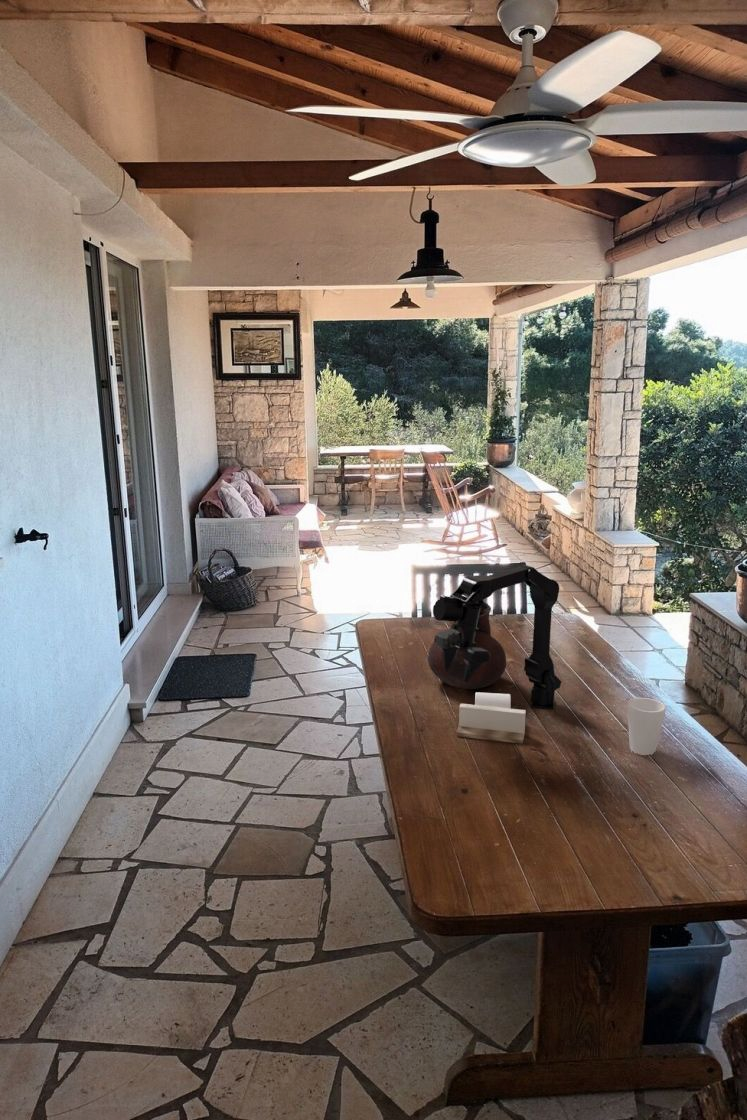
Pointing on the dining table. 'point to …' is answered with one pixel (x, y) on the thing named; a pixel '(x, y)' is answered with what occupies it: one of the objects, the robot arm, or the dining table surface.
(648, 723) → the foam cup
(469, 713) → the screen
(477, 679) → the jug
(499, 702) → the mug
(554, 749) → the dining table surface
